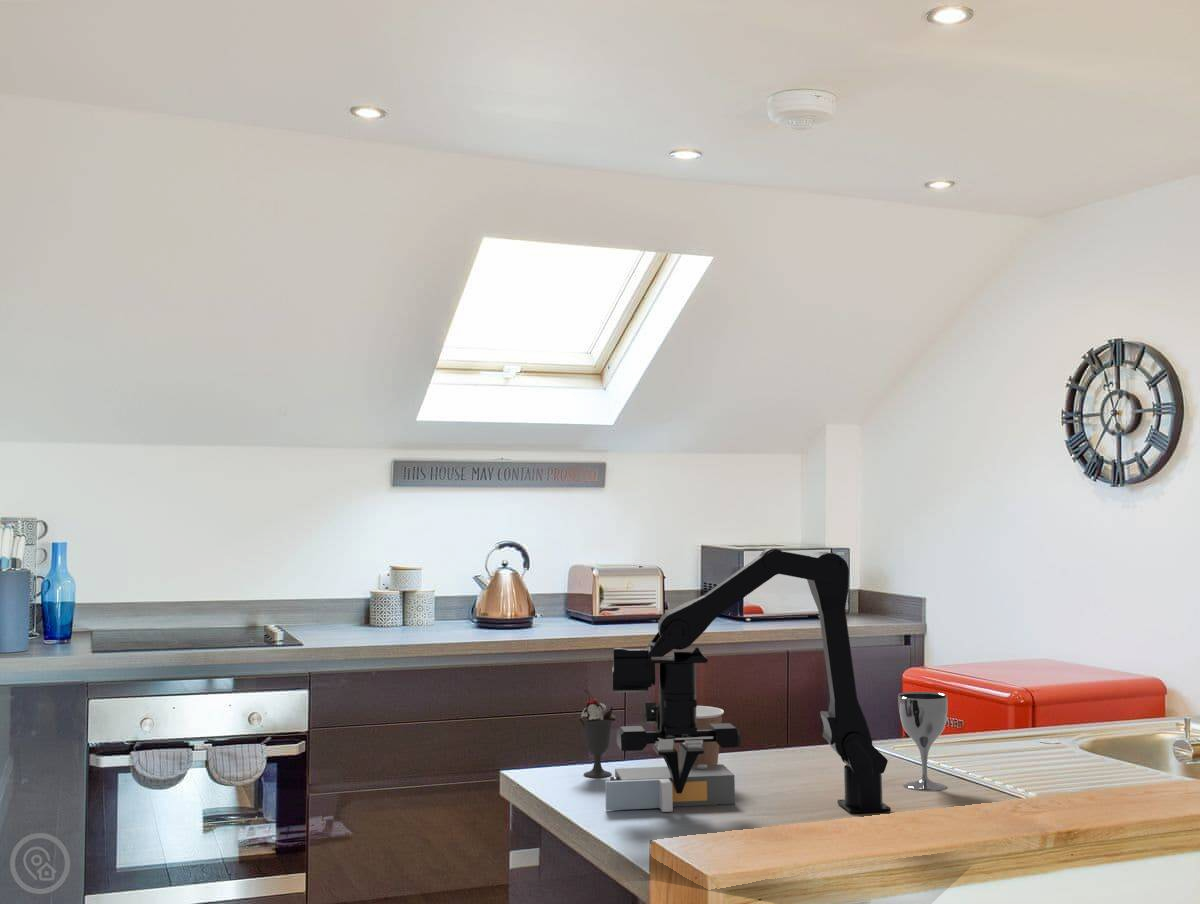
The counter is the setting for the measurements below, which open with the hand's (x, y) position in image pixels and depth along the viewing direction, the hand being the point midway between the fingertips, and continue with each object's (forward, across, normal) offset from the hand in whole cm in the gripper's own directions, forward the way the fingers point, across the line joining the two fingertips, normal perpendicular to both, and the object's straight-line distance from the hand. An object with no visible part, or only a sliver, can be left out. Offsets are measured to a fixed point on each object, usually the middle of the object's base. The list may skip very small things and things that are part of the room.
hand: (678, 792), depth 180 cm
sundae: (+3, +10, -26) cm, 28 cm away
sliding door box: (+3, 0, -6) cm, 7 cm away
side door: (+2, +6, 0) cm, 7 cm away
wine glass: (+3, -44, -8) cm, 44 cm away
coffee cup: (+3, -6, -19) cm, 20 cm away
